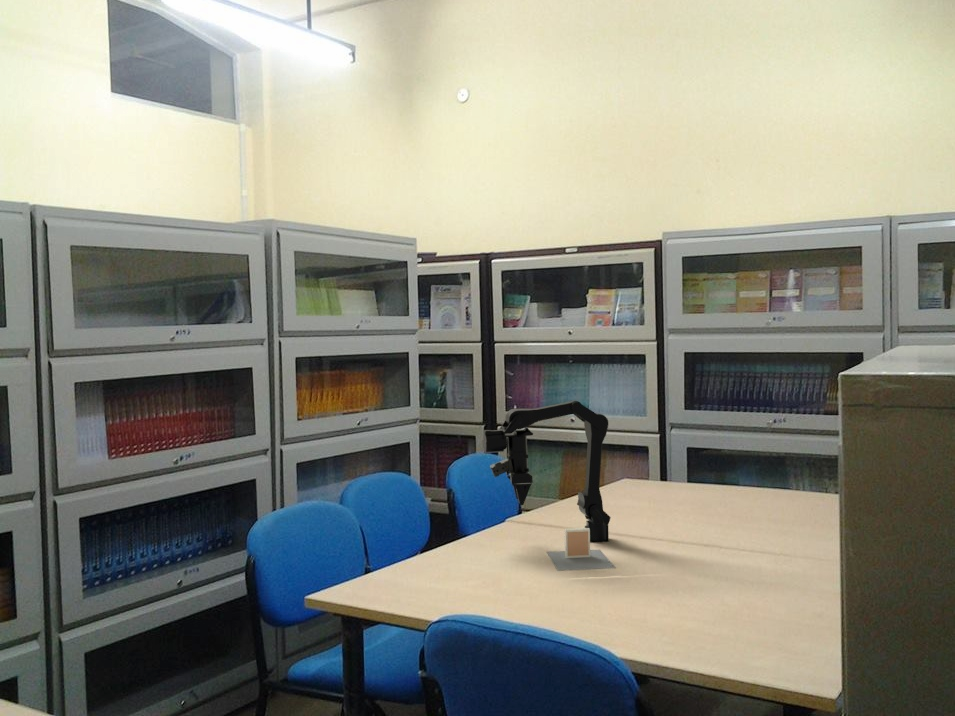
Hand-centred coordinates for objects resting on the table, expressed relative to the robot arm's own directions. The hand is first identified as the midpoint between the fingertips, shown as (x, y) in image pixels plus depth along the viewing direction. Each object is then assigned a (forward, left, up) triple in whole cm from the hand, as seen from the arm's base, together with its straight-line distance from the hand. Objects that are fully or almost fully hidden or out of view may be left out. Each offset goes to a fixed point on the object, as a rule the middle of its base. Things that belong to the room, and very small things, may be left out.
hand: (519, 501), depth 262 cm
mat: (-14, +20, -14) cm, 28 cm away
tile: (-14, +17, -13) cm, 25 cm away
